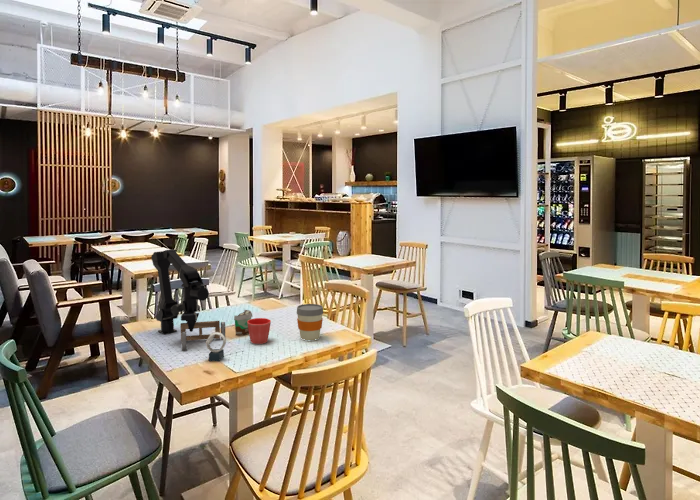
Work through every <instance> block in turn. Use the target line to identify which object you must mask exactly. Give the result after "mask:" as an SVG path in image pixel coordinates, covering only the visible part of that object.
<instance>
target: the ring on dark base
mask: <svg viewBox="0 0 700 500" xmlns="http://www.w3.org/2000/svg"><path fill="white" fill-rule="evenodd" d="M210 334H211V335H210V336H209V337H208V339H206V341H205V345H206V348H207V350H208V351H210V352H209V353H208V361H209V362H221V360H222V359H223V358H224V357H225V352H224V351H225V349H224V348H225V346H226V344H227V339H226V338H225V336H226V335H225V336H224V335H223V334H222V333H221V332H220V333H219V332H215V331H214V332H212V333H210ZM215 335H219V336H220V338H221V337H222V338H223V340H222V344H221V346H220V348H218V349H217V348H215V349H214V348H212V346H211V343H212V342H213V340H214V339H213V338H214V337H215Z"/></svg>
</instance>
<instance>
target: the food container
mask: <svg viewBox="0 0 700 500" xmlns="http://www.w3.org/2000/svg"><path fill="white" fill-rule="evenodd" d="M252 318H253V313H252V311H251V310H248V309H244V310H243V312H240V313H239V314H237V315H234V318H233V320H234V328H235V329H234V330H235V331H234V332H235V336H245V335H249V331H248V324H247V321H248V320H250V319H252Z"/></svg>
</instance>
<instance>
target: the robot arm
mask: <svg viewBox="0 0 700 500" xmlns="http://www.w3.org/2000/svg"><path fill="white" fill-rule="evenodd" d="M151 261H152V265H153V266H154V268H155V269H156V271H157V275H158V283H159V291H160V296H161V300H160V303H159V306H158V311H157V313H156V315H155V320H156V321H157V322H160V329H159V330H157V332H159V333H161V334H163V335H166V334H171V333H174V332H175V333H176V332H177V329H175V326H174V325H175V323H174V320H175V319H178V317H179V313H181V312H182V314H181V315H180V321H182V322H183V321H185V322H186V323H187V324H188V327H189V329H188V331H189V332H190V333H192V332H193V331H194V326H195V323H196V322H198V318H199V316H200V312H201V306H200V305H199V304H198V301H205V300H207V299H208V297H209V296H210V295H209V294H210V292H209V290H208V288H206V287H205V284H204V281H203V279H202V277H201V275H200V273H199V271H198V270H197V269H196V268H195V267H193V266H190V265H188V264H187V263H186V262H185V261H184V260H183V258H182V257H181V256H180V255H179V254H178V252H177V250H176V249H173V248H172V249H166V250H163V251H154V252H153V253H152V254H151ZM170 266H173V267H174V269H175V270H176V271H177V272H178V278H179V279H180V281H181V282H182V283H181V286H180V287H181V288H183V300H182V302H180V303H178V301H176V300H174V298H173V292H172V286H171V285H172V284H171V278H170Z"/></svg>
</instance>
